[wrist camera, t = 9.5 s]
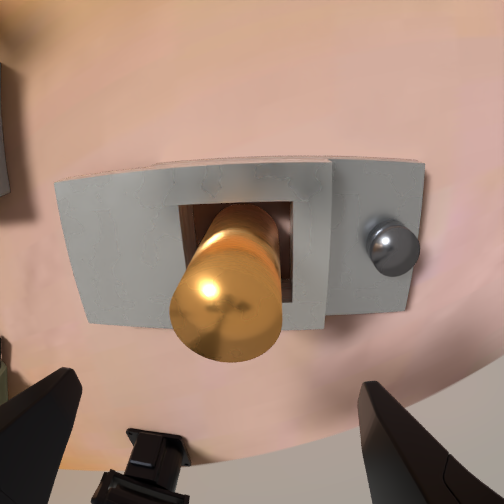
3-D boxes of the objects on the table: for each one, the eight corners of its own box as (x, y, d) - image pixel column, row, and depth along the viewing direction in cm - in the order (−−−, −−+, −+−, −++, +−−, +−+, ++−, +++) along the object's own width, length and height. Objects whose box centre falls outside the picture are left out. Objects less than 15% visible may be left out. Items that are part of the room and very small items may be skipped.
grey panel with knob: (398, 299, 22) (411, 323, 19) (105, 301, 23) (88, 323, 20) (414, 160, 18) (436, 167, 15) (78, 173, 19) (53, 182, 17)
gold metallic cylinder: (279, 268, 21) (282, 362, 13) (212, 269, 22) (179, 360, 13) (278, 202, 19) (282, 267, 11) (206, 204, 20) (160, 269, 12)
